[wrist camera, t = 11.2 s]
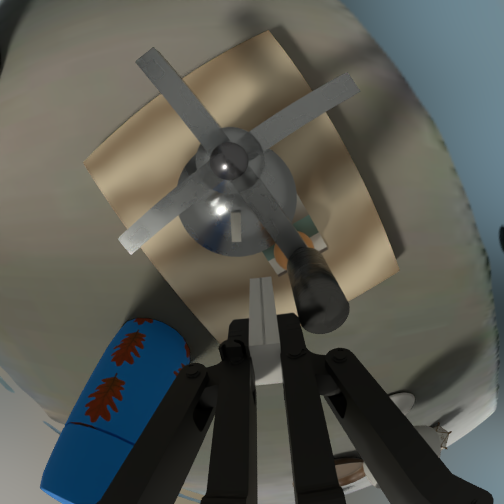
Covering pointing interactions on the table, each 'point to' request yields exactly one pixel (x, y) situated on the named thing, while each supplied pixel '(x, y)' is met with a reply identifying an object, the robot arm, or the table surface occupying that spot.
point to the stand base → (288, 149)
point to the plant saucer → (348, 470)
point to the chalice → (428, 433)
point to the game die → (442, 436)
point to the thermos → (114, 410)
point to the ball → (280, 255)
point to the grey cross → (246, 191)
